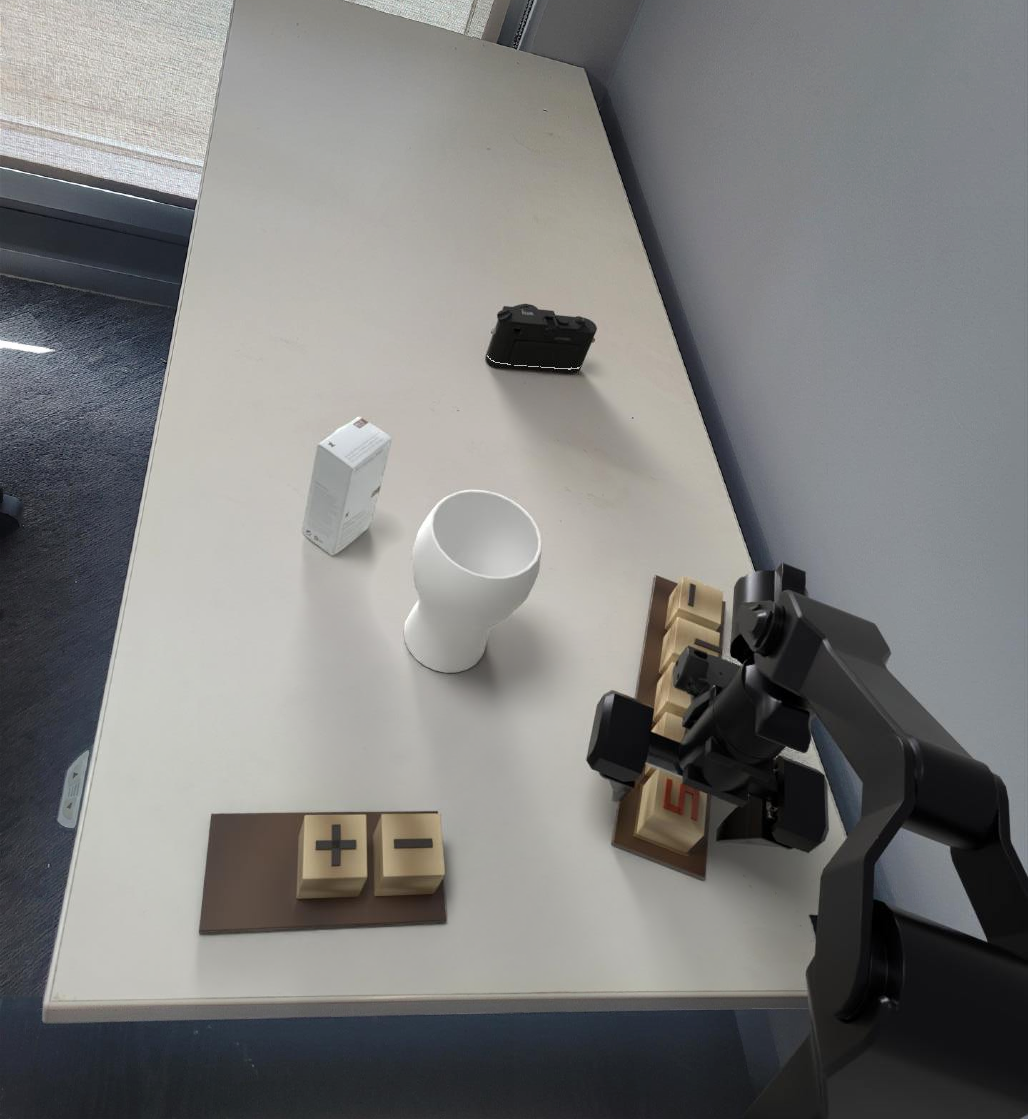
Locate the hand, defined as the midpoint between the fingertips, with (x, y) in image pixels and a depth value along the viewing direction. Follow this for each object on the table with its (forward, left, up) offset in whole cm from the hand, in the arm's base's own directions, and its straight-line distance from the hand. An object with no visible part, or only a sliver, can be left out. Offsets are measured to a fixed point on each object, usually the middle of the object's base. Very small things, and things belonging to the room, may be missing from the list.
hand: (666, 816), depth 76 cm
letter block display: (+11, -4, -1) cm, 12 cm away
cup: (+17, +17, -1) cm, 25 cm away
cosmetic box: (+29, +27, -1) cm, 40 cm away
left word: (-3, +28, -1) cm, 28 cm away
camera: (+61, +2, -1) cm, 61 cm away
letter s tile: (0, 0, 0) cm, 0 cm away
